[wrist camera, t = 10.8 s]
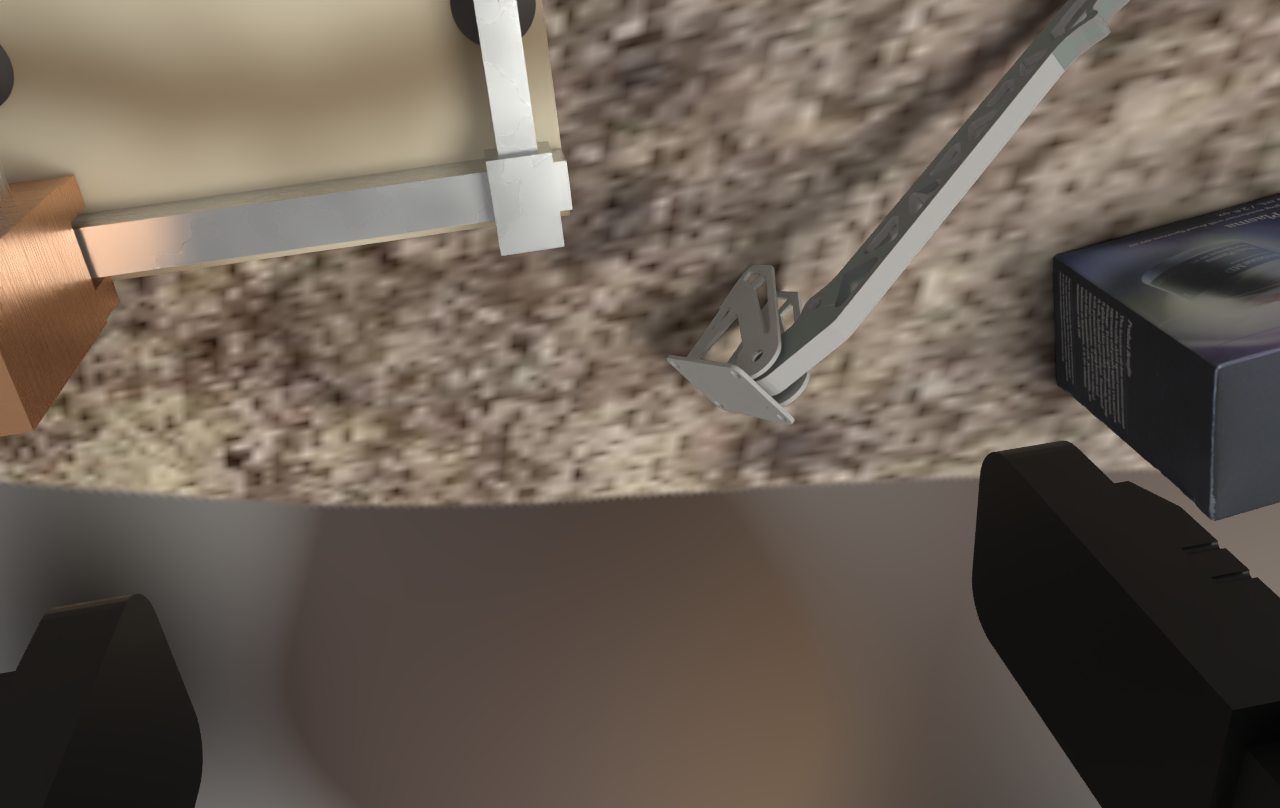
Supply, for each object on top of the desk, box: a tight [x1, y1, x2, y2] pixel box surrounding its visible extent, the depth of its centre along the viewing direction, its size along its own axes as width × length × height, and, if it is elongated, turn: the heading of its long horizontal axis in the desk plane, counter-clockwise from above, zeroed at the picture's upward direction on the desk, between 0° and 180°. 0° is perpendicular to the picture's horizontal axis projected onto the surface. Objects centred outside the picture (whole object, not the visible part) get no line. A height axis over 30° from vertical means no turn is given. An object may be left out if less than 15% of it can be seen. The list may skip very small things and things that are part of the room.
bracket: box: [667, 0, 1130, 425], centre depth 37 cm, size 3×21×10 cm, turn 134°
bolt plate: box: [0, 0, 570, 281], centre depth 33 cm, size 12×20×1 cm, turn 95°
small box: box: [1053, 195, 1280, 521], centre depth 39 cm, size 11×6×10 cm, turn 103°
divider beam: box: [71, 0, 572, 278], centre depth 32 cm, size 8×20×3 cm, turn 96°
